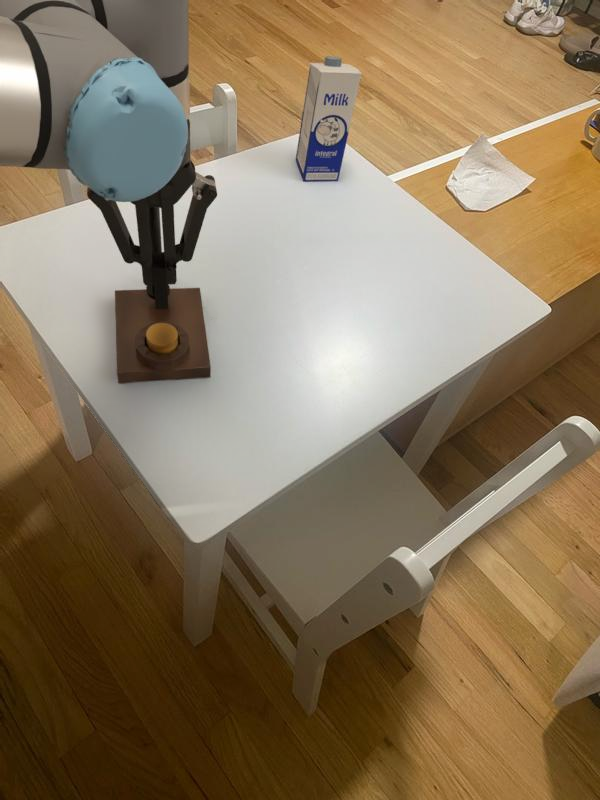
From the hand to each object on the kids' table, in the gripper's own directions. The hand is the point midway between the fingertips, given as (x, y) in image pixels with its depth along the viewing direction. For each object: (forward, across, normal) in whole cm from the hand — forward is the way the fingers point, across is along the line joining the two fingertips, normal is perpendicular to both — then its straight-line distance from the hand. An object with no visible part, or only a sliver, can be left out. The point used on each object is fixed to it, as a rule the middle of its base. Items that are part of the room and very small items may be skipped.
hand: (161, 300), depth 73 cm
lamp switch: (+8, 0, 0) cm, 8 cm away
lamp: (+7, 0, -10) cm, 13 cm away
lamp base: (+11, 0, -4) cm, 12 cm away
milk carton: (+12, -31, -44) cm, 55 cm away
